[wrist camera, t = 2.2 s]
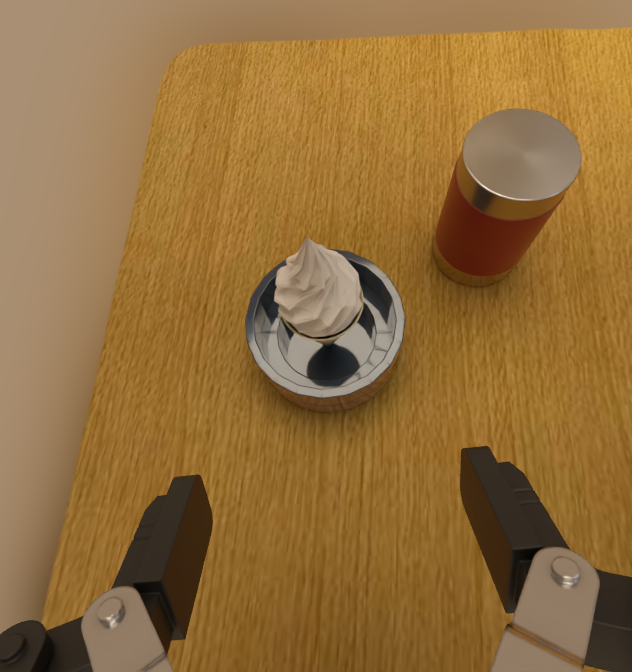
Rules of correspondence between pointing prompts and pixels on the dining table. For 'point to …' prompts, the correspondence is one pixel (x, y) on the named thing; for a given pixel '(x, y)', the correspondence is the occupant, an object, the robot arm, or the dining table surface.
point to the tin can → (503, 193)
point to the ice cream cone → (318, 293)
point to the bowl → (341, 357)
